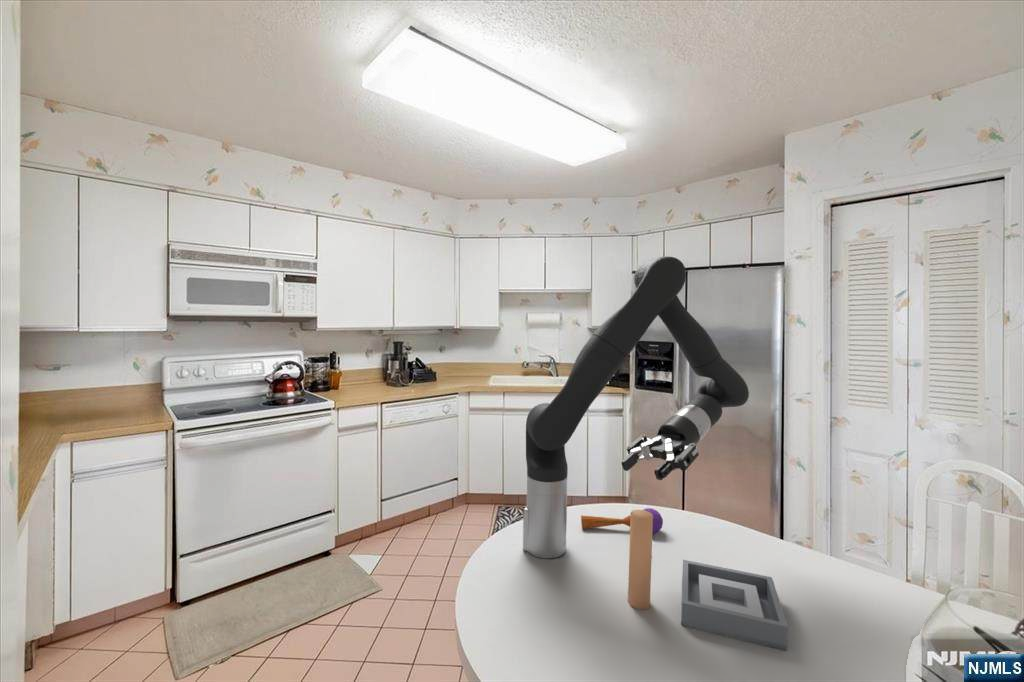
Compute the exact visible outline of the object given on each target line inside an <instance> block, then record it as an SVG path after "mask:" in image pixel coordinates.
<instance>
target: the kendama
mask: <svg viewBox="0 0 1024 682" xmlns="http://www.w3.org/2000/svg"><path fill="white" fill-rule="evenodd" d="M643 510H644V511H648V512H650V513H651V514H652V515H653V528H652V535H654V534H657V533H659V532H660V531H661V529H662V528H663V524H664V519H663V517H662V515H661V513H660V512H659V511H658V510H657V509H654V508H649V507H648V508H647V507H646V508H644V509H643ZM630 515H631V514H630ZM630 515H628V516H625V517H624V518H615V517H603V516H591V515H583V514H582V515H580V520H581V524H580V525H581V530H587V529H588V530H589V529H593V528H594V529H596V528H601V527H610V526H614V525H625V526H628V527H629V528H630Z"/></svg>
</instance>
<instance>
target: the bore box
mask: <svg viewBox="0 0 1024 682" xmlns="http://www.w3.org/2000/svg"><path fill="white" fill-rule="evenodd" d="M681 575H682V578H681V579H682V580H681V611H680V613H681V614H680V617H681V620H680V624H681V625H680V626H685V627H688V628H689V627H690V628H691V629H692V628H693V629H696V630H700V631H704V632H709V633H713V634H717V635H721V636H725V637H728V638H729V637H730V638H733V639H737V640H741V641H746V642H749V643H753V644H757V645H761V646H765V647H769V648H772V649H777V650H782V651H786V652H787V649H788V633H789V632H788V631H789V627H788V622H787V621H786V617H785V614H784V611H783V608H782V605H781V602H780V598H779V595H778V593H777V590H776V586H775V583H774V579H773V577H772V576H767V575H762V574H758V573H754V572H753V573H752V572H748V571H742V570H737V569H732V568H728V567H727V568H726V567H722V566H717V565H711V564H707V563H703V562H697V561H693V560H688V559H682V574H681Z"/></svg>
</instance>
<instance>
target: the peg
mask: <svg viewBox="0 0 1024 682" xmlns="http://www.w3.org/2000/svg"><path fill="white" fill-rule="evenodd" d="M652 528H653V515H652V514H651V513H650V512H648V511H644V509H634V510H632V511H630V527H629V551H628V552H629V554H628V555H629V556H628V557H629V558H628V563H629V564H628V583H627V584H628V585H627V586H628V589H627V590H628V591H627V603H628V604H629V606H631V607H632V608H634V609H636V610H647V609H648V608H650V606H651V589H652V587H651V586H652V585H651V584H652V583H651V582H652V559H653V557H652V554H653V534H652Z"/></svg>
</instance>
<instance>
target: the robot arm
mask: <svg viewBox="0 0 1024 682" xmlns="http://www.w3.org/2000/svg"><path fill="white" fill-rule="evenodd" d="M633 279H634V280H633V281H634V285H635V288H636V289H635V290H634V292H633V294H632V295H631V296H630V297H629V299H628V300H627V301H626V302H625V303H624V304H623V305H622V306H621V307H620V308H619V309H617V311H615V312H614V313H613V314H611V315H610V316H609V317H608V318H607V319H606V320H604V322H603V323H602V324H601V325H599V326H598V328H597V329H596V330H595V331H594V332H593V334H592V335H591V337H589V339H588V340H587V342H586V343H585V344H584V345H583V347H582V348H581V350H580V352H579V354H578V355H577V357H576V359H575V361H574V364H573V365H572V368H571V371H570V373H569V376H568V378H567V380H566V382H565V384H564V385H563V387H562V388H561V389H560V391H559V392H558V393H557V395H556V396H555V397H554V398H553V400H552V401H551V402H550V403H549V402H544V403H539V404H537V405H534V407H532V408H531V409H530V411H529V413H528V414H527V417H526V423H525V461H526V506H525V507H524V508H523V511H522V512H523V514H522V515H523V519H522V520H523V521H522V523H523V524H522V526H523V527H522V528H523V529H522V530H523V531H522V534H523V535H522V551H525V552H528V553H529V554H530V555H533V556H534V557H537V558H542V559H554V558H558V557H560V556H562V555H564V554H565V552H566V551H567V523H568V522H567V518H568V517H567V515H568V514H567V513H568V512H567V511H568V474H569V473H568V462H567V458H566V457H567V456H566V450H565V449H566V447H565V445H566V444H567V443H568V442H569V440H570V439H571V437H572V436H573V434H574V433H575V431H576V429H577V428H578V426H579V424H580V422H581V421H582V419H583V417H584V415H585V414H586V412H587V411H588V409H589V408H590V406H591V405H592V404H593V403H594V401H595V400H596V398H597V397H598V396H599V395H600V394H601V392H602V391H603V390H604V388H605V387H606V386H607V384H608V383H609V382H610V381H611V379H612V378H613V377H614V376H615V375H616V373H617V372H618V370H620V368H621V367H622V365H623V364H624V362H625V361H626V360H627V358H628V357H629V356H630V354H631V352H632V351H633V350H634V348H635V347H636V345H637V344H638V343H639V342H640V341H641V339H642V337H644V334H645V333H646V332H647V330H648V329H649V328H650V326H651V325H652V324H653V322H654V321H655V319H656V318H657V317H658V318H659V319H660V320H661V321H662V323H663V324H664V326H665V327H666V328H667V329H668V332H670V334H671V336H672V338H673V339H674V340H675V342H676V344H677V345H678V347H679V348H680V350H681V352H682V354H683V356H684V358H685V359H686V361H687V362H688V364H689V366H690V367H691V369H692V371H693V372H694V373H695V374H696V376H699V377H703V378H709V379H707V380H705V381H704V382H703V383H701V384H700V385H699V387H698V389H697V390H696V392H695V395H694V396H693V398H692V399H691V400H690V401H689V402H688V403H687V404H686V405H685V406H682V408H680V409H678V410H677V411H676V412H675V413H674V414H673V415H671V416H670V417H669V418H668V419H667V420H666V421H665V422H664V423H662V425H661V426H659V429H658V431H657V434H656V435H655V436H653V437H651V438H648V437H647V435H646V434H645V433H644V434H641V435H639V437H638V438H636V439H635V440H634V441H632V442H631V443H629V445H627V446H626V447H625V449H626V451H627V454H628V455H627V456H626V457H625V458H624V459H622V460H621V463H620V464H621V467H622V469H623V470H624V471H625V472H629V470H631V469H632V468H633V467H634V466H635V465H637V463H638V462H640V461H643V460H646V461H649V460H652V459H654V458H655V459H661V460H663V461H662V462H661V463H660V464H659V465H658V466H657V467H656V468H655V469H654V475H655V477H656V478H655V479H656V480H658V481H662V480H663V479H665V478H667V477H668V476H669V474H670V473H671V472H673V471H677V469H678V470H679V469H680V471H684V472H685V471H686V470H688V468H689V467H690V466H692V464H693V463H694V461H695V460H696V459H697V458H698V456H699V455H700V453H699V450H698V448H697V446H696V445H697V444H698V443H699V442H700V441H701V440H702V439H703V438H704V437H705V436H706V435H707V433H708V432H709V430H710V429H712V428H713V426H715V425H716V423H718V422H719V420H720V419H721V418H722V415H723V408H735V407H742V406H743V405H745V404H746V403H747V401H748V399H749V393H750V391H749V387H748V384H747V382H746V380H745V379H744V378H743V377H742V375H740V374H739V373H738V371H736V370H735V369H734V368H733V367H732V366H731V365H730V363H728V362H727V361H726V360H725V359H724V358H723V357H722V355H721V353H720V351H719V350H718V348H717V346H716V345H715V343H714V341H713V339H712V337H711V336H710V334H709V333H708V332H707V331H706V329H705V328H704V327H703V326H702V325H701V324H700V323H699V322H698V321H697V320H696V319H695V317H693V316H692V315H691V314H690V312H689V311H688V310H687V308H686V307H685V306H684V305H683V303H682V302H681V300H680V298H679V296H678V294H679V293H680V292H681V290H682V289H683V287H684V285H685V282H686V279H687V270H686V267H685V265H684V263H683V262H682V261H681V259H678V258H676V257H674V256H659V257H655V258H652V259H650V260H646V261H645V262H642V263H641V264H639V266H638V267H637V268H636V270H635V273H634V278H633ZM647 449H649V452H650V453H648V452H647ZM641 452H642V454H641Z"/></svg>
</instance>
